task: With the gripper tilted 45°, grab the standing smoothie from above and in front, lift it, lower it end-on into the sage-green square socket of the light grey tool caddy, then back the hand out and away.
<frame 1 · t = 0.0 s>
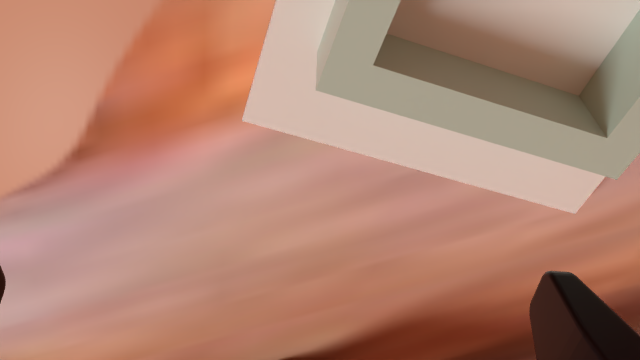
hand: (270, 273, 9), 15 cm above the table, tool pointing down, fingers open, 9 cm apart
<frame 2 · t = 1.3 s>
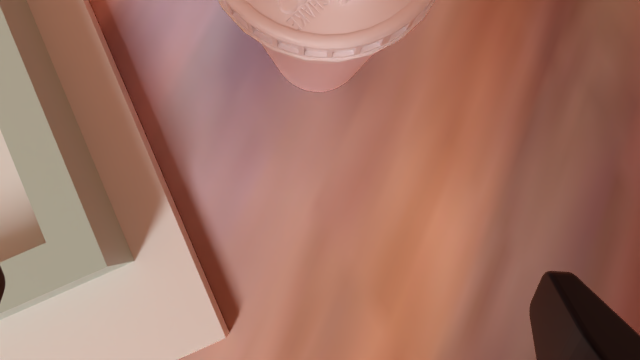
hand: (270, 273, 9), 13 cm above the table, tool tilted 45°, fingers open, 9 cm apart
smoothie: (317, 49, 23), on the table
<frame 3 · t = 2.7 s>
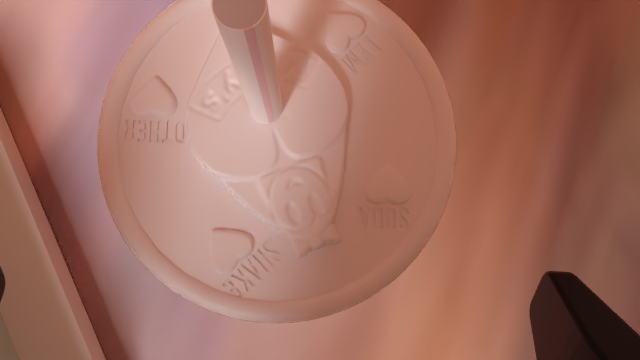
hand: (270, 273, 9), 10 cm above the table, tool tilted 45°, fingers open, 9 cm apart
smoothie: (290, 193, 20), on the table
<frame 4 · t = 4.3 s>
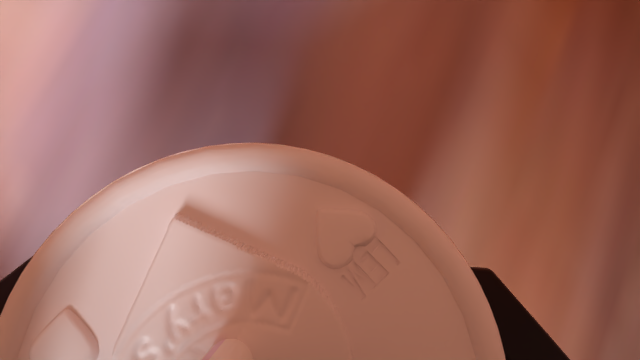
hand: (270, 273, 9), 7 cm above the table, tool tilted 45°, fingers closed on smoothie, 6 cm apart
smoothie: (281, 308, 16), on the table, touching gripper
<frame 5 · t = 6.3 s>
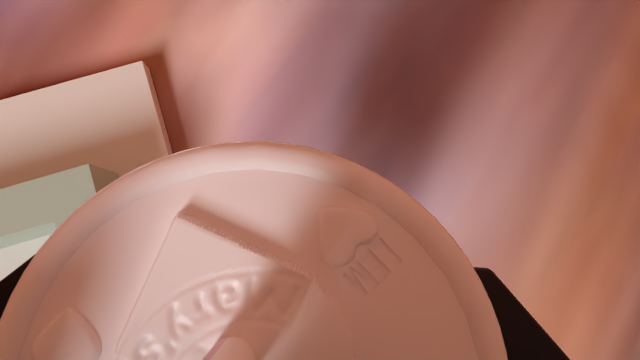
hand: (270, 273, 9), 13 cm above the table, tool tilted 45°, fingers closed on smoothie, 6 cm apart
smoothie: (282, 306, 16), point 6 cm above the table, touching gripper
when the fingers open (9 cm above the table, at t = 8.8 s): smoothie stays where it is, resting on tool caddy.
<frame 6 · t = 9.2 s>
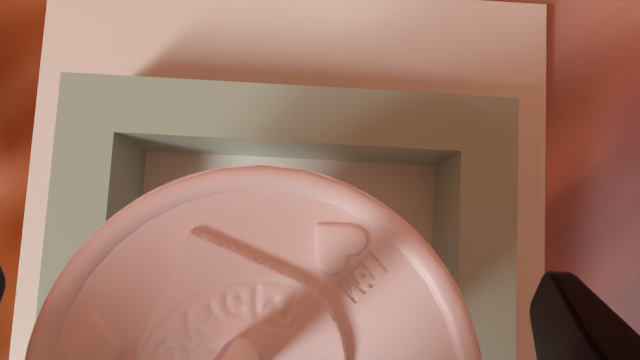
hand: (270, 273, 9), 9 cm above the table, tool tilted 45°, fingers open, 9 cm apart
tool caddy: (284, 301, 18), on the table
smoothie: (281, 308, 17), point 1 cm above the table, touching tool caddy
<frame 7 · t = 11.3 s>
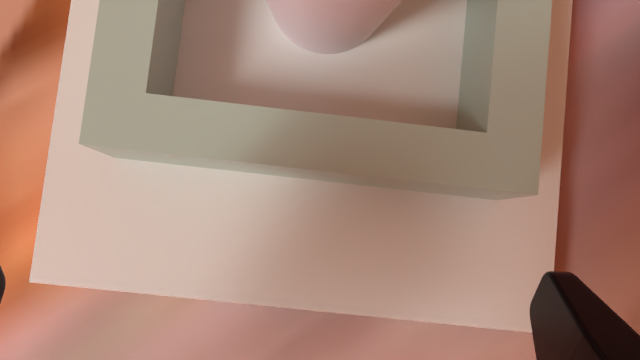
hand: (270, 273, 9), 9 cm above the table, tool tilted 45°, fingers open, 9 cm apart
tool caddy: (326, 6, 19), on the table
smoothie: (326, 0, 18), point 1 cm above the table, touching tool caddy
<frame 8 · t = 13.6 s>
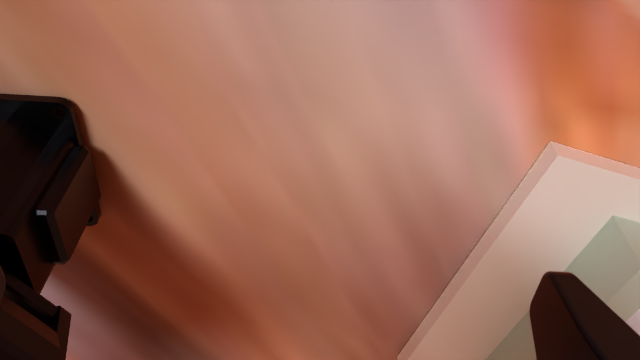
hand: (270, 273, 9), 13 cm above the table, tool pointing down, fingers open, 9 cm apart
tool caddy: (632, 309, 30), on the table
smoothie: (637, 321, 29), point 1 cm above the table, touching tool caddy
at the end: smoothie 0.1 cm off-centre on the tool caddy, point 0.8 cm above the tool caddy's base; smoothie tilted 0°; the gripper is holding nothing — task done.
